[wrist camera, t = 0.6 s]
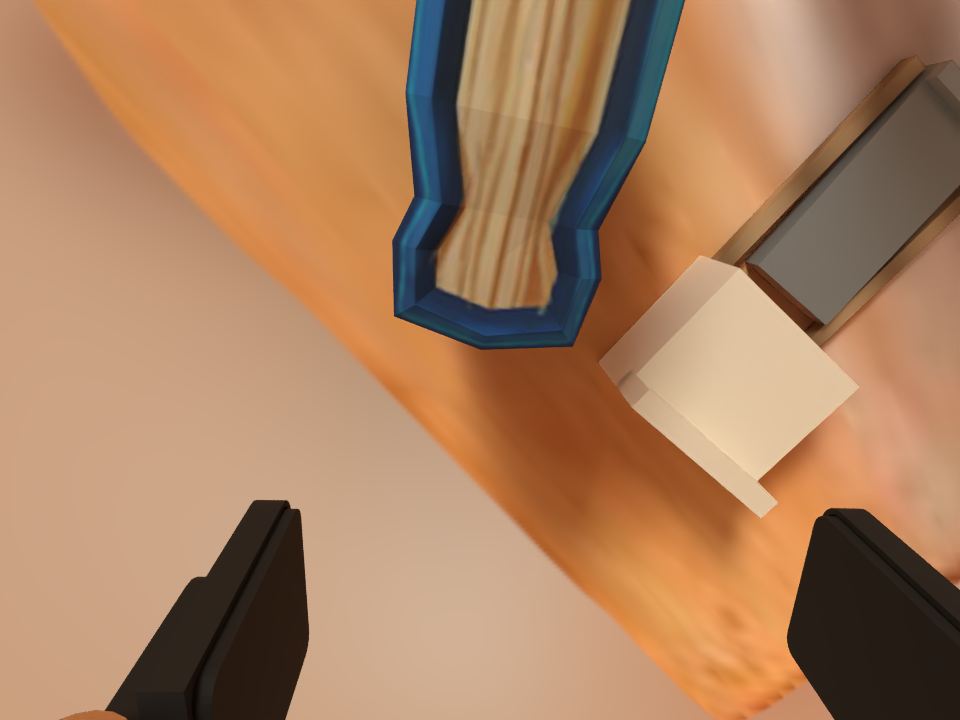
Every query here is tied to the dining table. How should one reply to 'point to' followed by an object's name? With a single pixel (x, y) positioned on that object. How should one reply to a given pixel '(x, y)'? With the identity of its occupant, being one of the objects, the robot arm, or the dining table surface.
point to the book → (521, 159)
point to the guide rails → (815, 167)
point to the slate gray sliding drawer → (868, 198)
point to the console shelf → (726, 376)
